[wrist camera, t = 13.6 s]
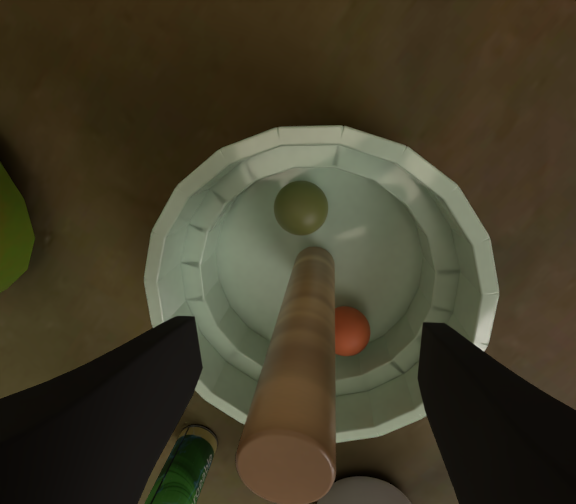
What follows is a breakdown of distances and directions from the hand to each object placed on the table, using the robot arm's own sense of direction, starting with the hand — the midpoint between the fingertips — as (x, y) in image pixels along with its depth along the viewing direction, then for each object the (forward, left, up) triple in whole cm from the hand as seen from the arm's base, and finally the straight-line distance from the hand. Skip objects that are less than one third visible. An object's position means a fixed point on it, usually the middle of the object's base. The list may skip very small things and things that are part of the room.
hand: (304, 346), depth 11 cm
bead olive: (-1, -3, -6) cm, 6 cm away
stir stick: (0, 0, -7) cm, 7 cm away
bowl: (0, 0, -7) cm, 7 cm away
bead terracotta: (0, +3, -6) cm, 6 cm away
